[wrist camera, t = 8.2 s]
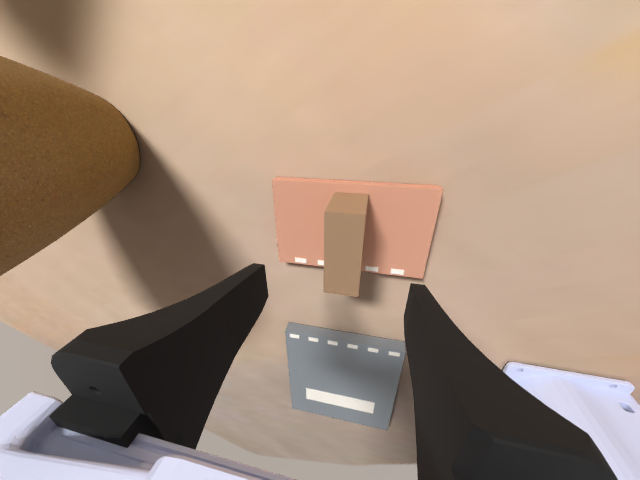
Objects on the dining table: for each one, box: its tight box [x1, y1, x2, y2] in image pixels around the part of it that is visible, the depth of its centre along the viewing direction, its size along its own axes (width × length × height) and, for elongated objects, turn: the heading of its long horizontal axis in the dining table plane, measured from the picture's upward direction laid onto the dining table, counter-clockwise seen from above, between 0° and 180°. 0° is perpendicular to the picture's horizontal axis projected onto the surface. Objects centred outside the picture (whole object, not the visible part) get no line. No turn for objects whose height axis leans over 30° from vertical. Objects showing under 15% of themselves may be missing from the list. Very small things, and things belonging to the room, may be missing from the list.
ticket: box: [285, 322, 406, 430], centre depth 29 cm, size 12×14×1 cm
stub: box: [272, 177, 443, 297], centre depth 18 cm, size 12×7×5 cm, turn 90°
